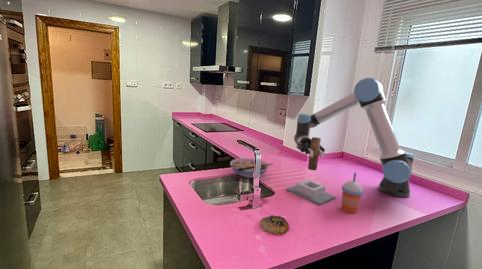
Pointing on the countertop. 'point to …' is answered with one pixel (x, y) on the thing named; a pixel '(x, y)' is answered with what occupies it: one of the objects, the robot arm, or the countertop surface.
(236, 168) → the ramen bowl
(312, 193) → the socket
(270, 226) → the bread roll
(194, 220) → the countertop surface
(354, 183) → the cup with straw
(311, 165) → the peg
